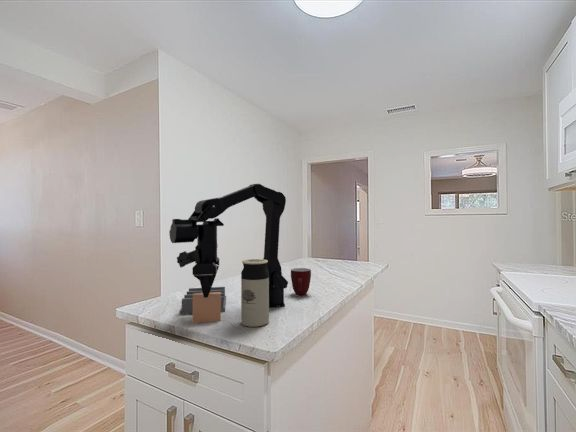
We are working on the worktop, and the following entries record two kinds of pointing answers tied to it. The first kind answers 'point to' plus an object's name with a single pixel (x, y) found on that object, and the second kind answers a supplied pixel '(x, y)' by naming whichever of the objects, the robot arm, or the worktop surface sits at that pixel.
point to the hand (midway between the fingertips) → (207, 293)
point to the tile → (207, 307)
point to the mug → (300, 280)
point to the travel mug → (254, 293)
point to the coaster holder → (188, 299)
